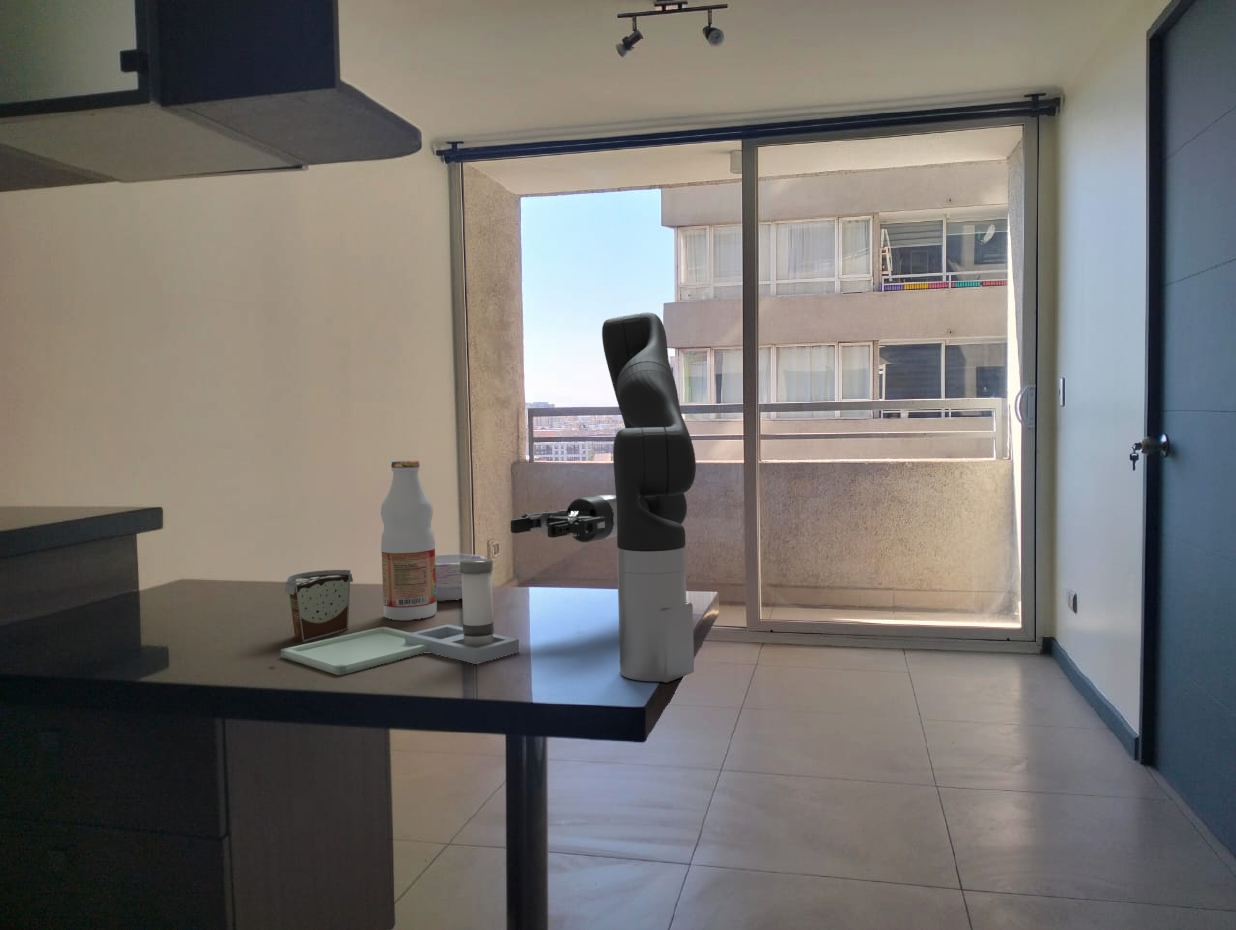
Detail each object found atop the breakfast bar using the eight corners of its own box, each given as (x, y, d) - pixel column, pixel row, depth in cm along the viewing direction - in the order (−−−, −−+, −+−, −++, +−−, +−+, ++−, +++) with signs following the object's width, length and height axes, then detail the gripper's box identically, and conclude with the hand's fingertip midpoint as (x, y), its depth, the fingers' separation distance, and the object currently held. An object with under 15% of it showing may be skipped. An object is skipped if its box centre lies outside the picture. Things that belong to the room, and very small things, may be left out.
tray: (444, 648, 135) (444, 640, 135) (339, 675, 121) (339, 667, 121) (384, 633, 145) (383, 626, 145) (281, 657, 132) (281, 649, 132)
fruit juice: (372, 617, 158) (367, 462, 157) (414, 608, 165) (409, 459, 164) (406, 623, 152) (401, 462, 151) (448, 613, 160) (443, 460, 158)
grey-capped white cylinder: (502, 653, 131) (499, 560, 131) (477, 660, 128) (474, 564, 127) (481, 648, 134) (478, 557, 134) (456, 655, 131) (453, 561, 130)
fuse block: (519, 652, 131) (518, 639, 131) (475, 665, 125) (474, 651, 125) (448, 636, 142) (448, 624, 142) (405, 647, 136) (404, 634, 136)
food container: (330, 624, 153) (327, 567, 153) (354, 627, 150) (352, 569, 150) (270, 640, 143) (267, 579, 142) (295, 644, 140) (292, 581, 139)
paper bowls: (501, 591, 180) (500, 553, 179) (462, 607, 166) (460, 565, 165) (437, 588, 185) (436, 551, 185) (394, 602, 171) (393, 562, 171)
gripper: (568, 493, 155) (499, 502, 143) (630, 498, 146) (561, 507, 134) (570, 535, 156) (500, 548, 144) (631, 542, 146) (563, 556, 134)
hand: (530, 528), depth 139 cm, fingers open, 8 cm apart
